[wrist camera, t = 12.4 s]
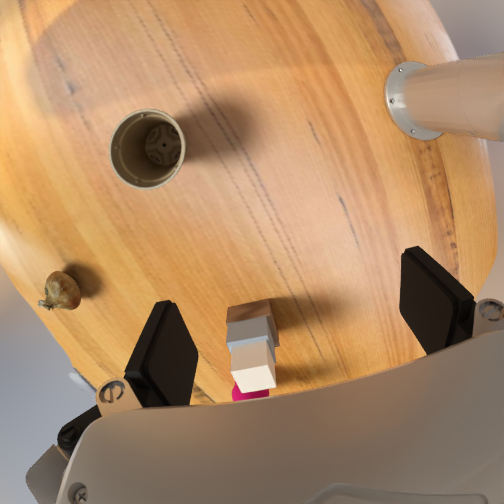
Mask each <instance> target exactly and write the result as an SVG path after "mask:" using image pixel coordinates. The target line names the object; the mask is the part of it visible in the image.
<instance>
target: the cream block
mask: <svg viewBox="0 0 504 504" xmlns="http://www.w3.org/2000/svg"><path fill="white" fill-rule="evenodd" d="M231 374H232V376H233V377H234V379H235V381H236V383H237V385H238V387H239V389H240V390H241V392H242V393H247V392H253V391H258V390H264V389H269V388H274V387H276V376H275V365H274V360H273V357H272V355H271V352H270V349H269V346H268V343H267V341H266V340H262V341H257V342H252V343H248V344H243V345H238V346H233V347H232V358H231Z"/></svg>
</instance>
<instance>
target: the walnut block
mask: <svg viewBox="0 0 504 504" xmlns="http://www.w3.org/2000/svg"><path fill="white" fill-rule="evenodd" d="M264 316H266V317H267V321H268V324H269V328H270V331H271V334H272V338H273V341H274V347H278V346H280V345H279V336H278V329H277V326H276V322H275V319H274V315H273V312H272V308H271V305H270V301H269V299H264V300H260V301H256V302H251V303H246V304H242V305H237V306H233V307H228V311H227V319H226V324H227V327H228V324H229V323H234V322H239V321H244V320H249V319H254V318H259V317H264Z"/></svg>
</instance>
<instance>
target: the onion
mask: <svg viewBox="0 0 504 504" xmlns="http://www.w3.org/2000/svg"><path fill="white" fill-rule="evenodd" d="M79 288H80V287H79V285H78V284H77V283H76V281H75V280H74V279H73V278H71V277H70V276H69V275H67V274H65V273H64V272H60V271H55V272H53V273H52V274H51V275H50V276H49V277H48V278H47V281H46V285H45V295H47V296H46V300H45V301H43V300H39V301H38V303H39V304H38V306H39V307H44V308H46V309H47V310H50V308H52V309H54V308H62V309H66V310H73V309H76V308H77V307H78V306H79V304H80V302H81V294H80V290H79Z"/></svg>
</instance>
